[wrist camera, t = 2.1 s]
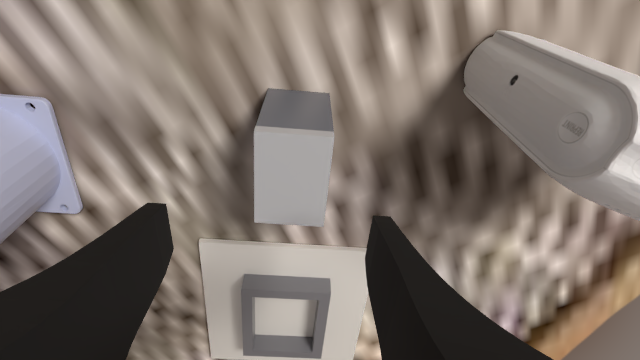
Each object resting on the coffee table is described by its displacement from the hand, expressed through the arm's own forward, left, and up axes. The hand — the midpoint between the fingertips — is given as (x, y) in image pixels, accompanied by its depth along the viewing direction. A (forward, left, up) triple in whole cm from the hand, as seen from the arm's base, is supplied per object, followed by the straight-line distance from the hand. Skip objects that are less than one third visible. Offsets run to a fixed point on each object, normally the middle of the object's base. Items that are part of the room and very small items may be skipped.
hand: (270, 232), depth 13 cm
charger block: (0, -1, -10) cm, 11 cm away
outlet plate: (0, -17, -10) cm, 20 cm away
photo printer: (+14, +3, -11) cm, 18 cm away
